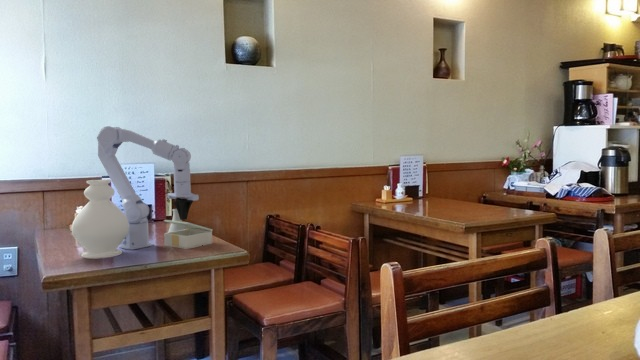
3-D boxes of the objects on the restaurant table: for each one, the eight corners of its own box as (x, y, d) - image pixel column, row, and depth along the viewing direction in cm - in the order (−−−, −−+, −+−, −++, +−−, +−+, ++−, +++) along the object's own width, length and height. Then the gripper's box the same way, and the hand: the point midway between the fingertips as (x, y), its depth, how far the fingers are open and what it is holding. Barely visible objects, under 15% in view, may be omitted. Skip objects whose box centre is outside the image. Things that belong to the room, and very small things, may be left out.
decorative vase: (113, 247, 188) (110, 177, 186) (140, 253, 177) (137, 179, 175) (63, 255, 174) (59, 181, 172) (89, 263, 163) (85, 183, 161)
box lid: (187, 223, 182) (187, 221, 182) (164, 221, 189) (164, 219, 189) (212, 231, 192) (212, 229, 192) (189, 228, 199) (189, 226, 199)
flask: (175, 235, 210) (174, 210, 209) (164, 233, 214) (163, 209, 214) (190, 232, 216) (189, 208, 215) (179, 231, 220) (178, 207, 219)
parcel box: (186, 249, 182) (186, 236, 182) (164, 245, 189) (163, 233, 189) (212, 243, 192) (211, 231, 192) (190, 240, 199) (189, 228, 199)
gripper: (204, 181, 186) (205, 219, 187) (177, 180, 195) (179, 216, 196) (189, 183, 181) (190, 222, 182) (162, 181, 189) (163, 219, 190)
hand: (183, 219), depth 188 cm, fingers closed
